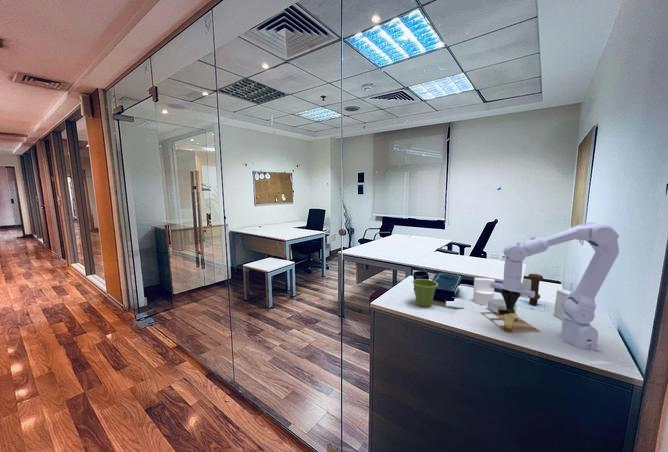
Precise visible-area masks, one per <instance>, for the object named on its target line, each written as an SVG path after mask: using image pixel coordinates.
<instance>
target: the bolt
mask: <svg viewBox="0 0 668 452" xmlns="http://www.w3.org/2000/svg"><path fill="white" fill-rule="evenodd" d="M528 278H529V279H530V289H529V290H531V291H535V297H533V298H532V297H530V296H527V297H528V298H529V305H531V306H538V301H539V299H541V295H540V294H539V291H540V290H539V288H540V287H539V286H540V281H541V280H542V281H543V280H544V276H543V275H541V274H538V273H529V274H528Z"/></svg>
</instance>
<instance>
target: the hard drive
mask: <svg viewBox="0 0 668 452" xmlns="http://www.w3.org/2000/svg"><path fill="white" fill-rule="evenodd" d="M454 298H455V299H454V301H446V300H445V308H447V309H453V310H465V309H466V308H465V304H464V302H465V301H464V299H463V298H460V297H459V298H457V297H454Z"/></svg>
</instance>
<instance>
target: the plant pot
mask: <svg viewBox="0 0 668 452" xmlns="http://www.w3.org/2000/svg"><path fill="white" fill-rule="evenodd" d="M412 283H413V287H414V295H415V303H416V305H417V306H418V307H422V308H425V307H426V308H430V307H431V306H432V304H433V301H434V296H435V293H436V290H437V287H438V285H439V283H438V282H436V281H434V280H431V279H428V278H427V279H426V278H425V279H424V278H417V279H414V280H412Z"/></svg>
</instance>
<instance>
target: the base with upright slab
mask: <svg viewBox="0 0 668 452" xmlns="http://www.w3.org/2000/svg"><path fill="white" fill-rule="evenodd" d="M473 281H474V282H473V294H472V295H473V297H472V302H474V303H475V304H477V305H480V306H485V307H488V299H495V297H494V296H495V288H491V287H490V283H491V282H496V279H494V278H485V277H484V278H483V277H474V279H473Z"/></svg>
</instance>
